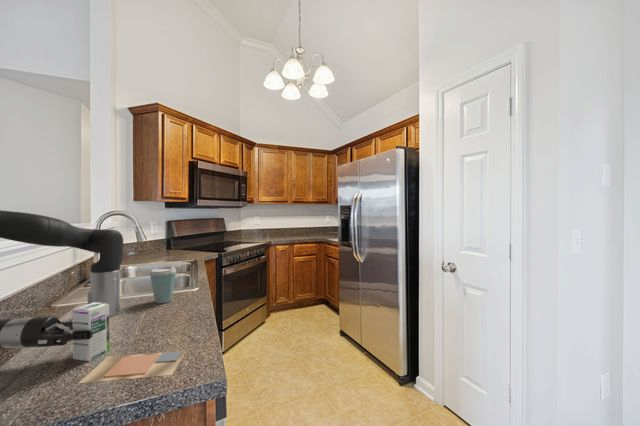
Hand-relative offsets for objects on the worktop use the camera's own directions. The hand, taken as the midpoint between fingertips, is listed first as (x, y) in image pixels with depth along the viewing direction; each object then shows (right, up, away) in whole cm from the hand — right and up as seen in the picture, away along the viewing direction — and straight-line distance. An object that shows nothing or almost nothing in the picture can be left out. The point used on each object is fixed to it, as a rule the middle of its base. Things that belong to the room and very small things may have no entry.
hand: (100, 328), depth 78 cm
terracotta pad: (+13, -7, -6) cm, 16 cm away
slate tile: (+20, -7, -2) cm, 21 cm away
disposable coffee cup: (-10, -8, +49) cm, 51 cm away
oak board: (+14, -8, -6) cm, 17 cm away
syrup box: (-2, -8, 0) cm, 8 cm away
